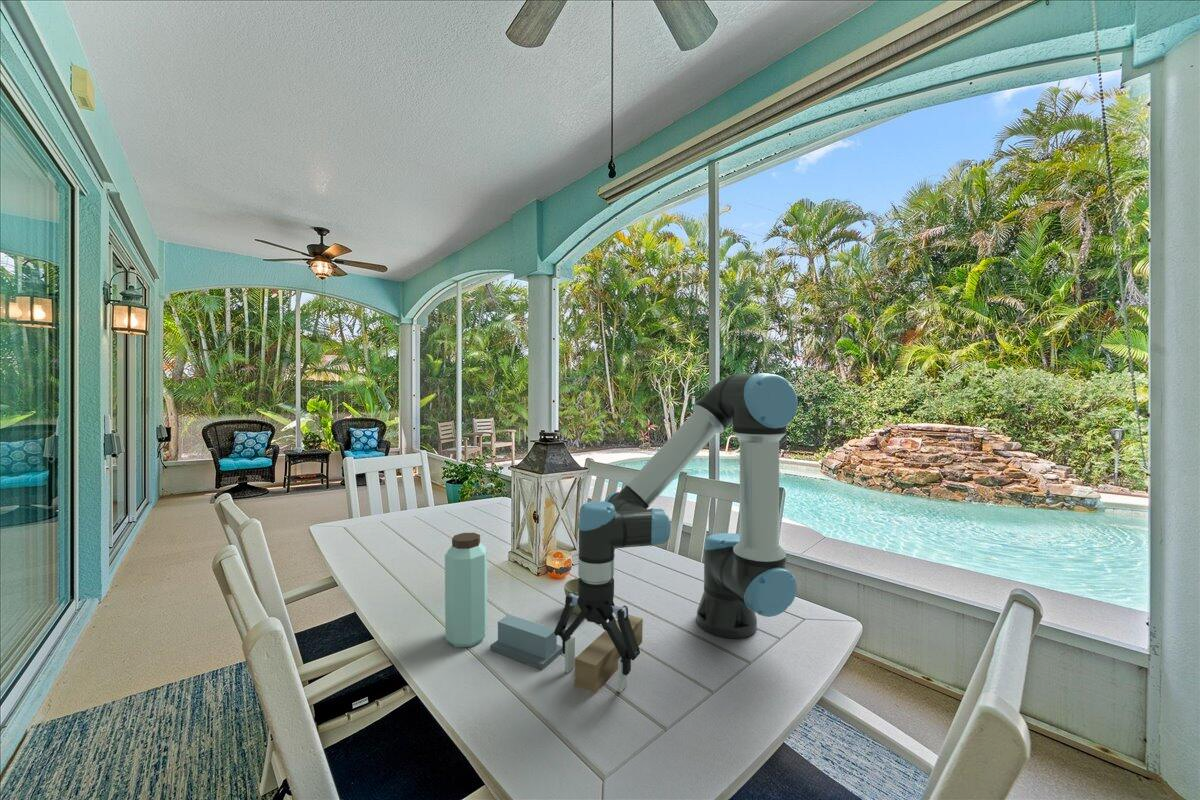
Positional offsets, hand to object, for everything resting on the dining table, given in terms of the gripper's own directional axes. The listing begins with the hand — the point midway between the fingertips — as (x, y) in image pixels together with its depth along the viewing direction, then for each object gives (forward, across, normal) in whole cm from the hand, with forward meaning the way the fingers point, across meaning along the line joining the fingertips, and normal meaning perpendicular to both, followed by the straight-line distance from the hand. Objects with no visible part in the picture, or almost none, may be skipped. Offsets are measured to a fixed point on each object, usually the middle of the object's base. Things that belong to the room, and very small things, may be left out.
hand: (595, 678), depth 100 cm
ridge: (0, +19, -1) cm, 19 cm away
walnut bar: (0, 0, -7) cm, 7 cm away
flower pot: (0, +18, -24) cm, 30 cm away
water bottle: (0, +35, +2) cm, 35 cm away
